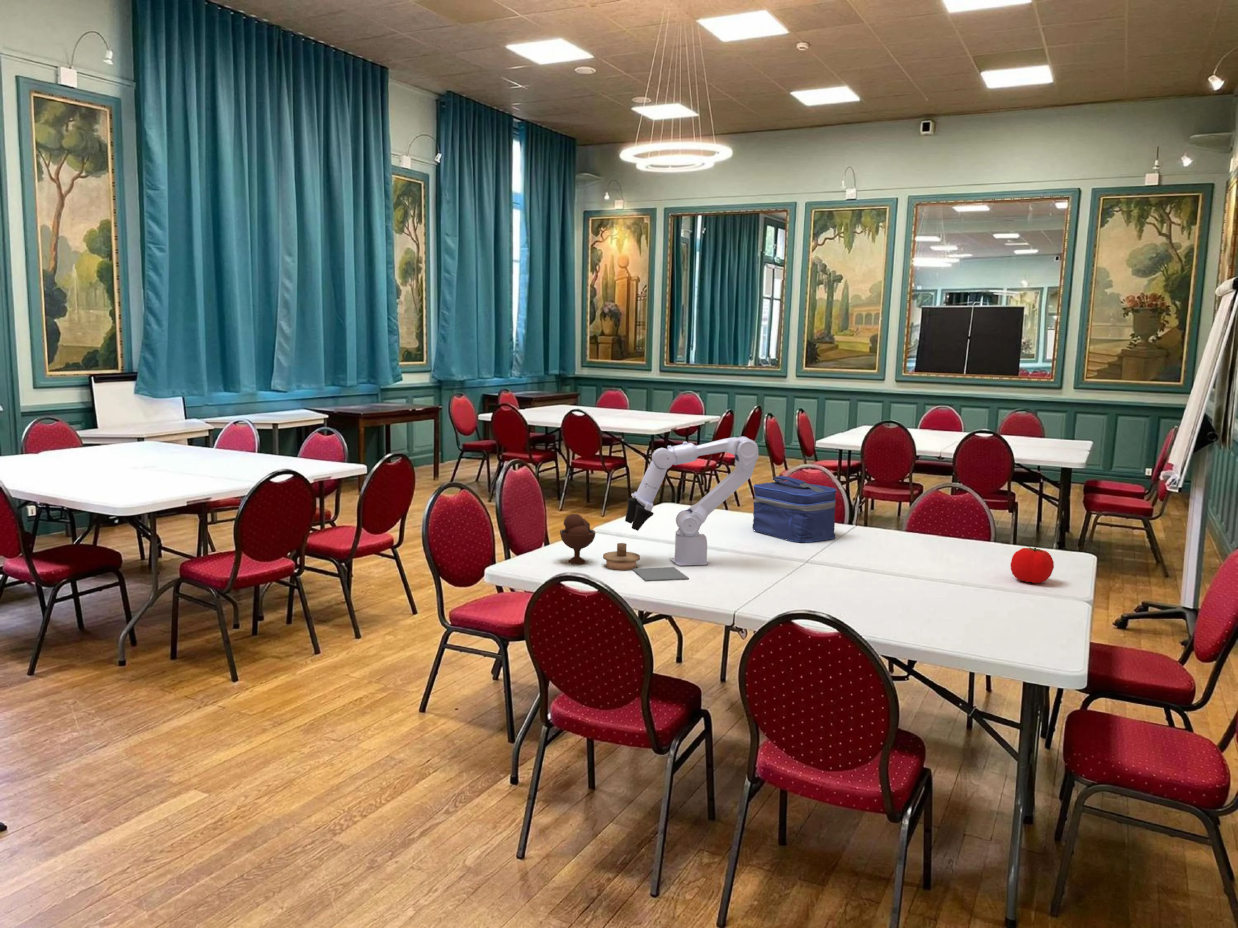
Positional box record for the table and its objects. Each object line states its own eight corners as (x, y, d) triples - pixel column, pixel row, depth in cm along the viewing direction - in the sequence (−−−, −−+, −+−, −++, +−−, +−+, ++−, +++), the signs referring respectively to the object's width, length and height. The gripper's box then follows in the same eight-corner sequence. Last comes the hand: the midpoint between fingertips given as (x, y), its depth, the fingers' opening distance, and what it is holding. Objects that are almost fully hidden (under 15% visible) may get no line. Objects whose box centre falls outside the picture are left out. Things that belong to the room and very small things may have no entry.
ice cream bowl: (590, 567, 270) (591, 517, 268) (554, 564, 272) (555, 515, 270) (598, 559, 280) (599, 511, 278) (563, 557, 282) (564, 509, 281)
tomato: (1025, 587, 262) (1028, 552, 260) (1001, 577, 273) (1003, 543, 272) (1061, 586, 264) (1065, 551, 263) (1036, 576, 275) (1039, 542, 274)
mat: (674, 568, 272) (674, 567, 272) (689, 579, 260) (689, 578, 260) (632, 570, 269) (632, 568, 269) (645, 581, 256) (645, 579, 256)
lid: (633, 553, 279) (634, 539, 279) (644, 561, 269) (644, 547, 268) (599, 554, 276) (599, 540, 276) (608, 563, 266) (608, 548, 265)
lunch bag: (739, 529, 334) (742, 473, 332) (780, 523, 347) (782, 470, 344) (802, 545, 310) (806, 485, 307) (843, 539, 322) (847, 481, 319)
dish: (631, 562, 278) (631, 554, 278) (639, 569, 270) (640, 561, 269) (602, 563, 276) (603, 555, 276) (610, 570, 267) (610, 562, 267)
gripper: (632, 475, 281) (613, 514, 282) (645, 486, 267) (626, 527, 269) (651, 483, 283) (633, 522, 285) (665, 494, 270) (646, 536, 271)
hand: (631, 525), depth 277 cm, fingers open, 7 cm apart
